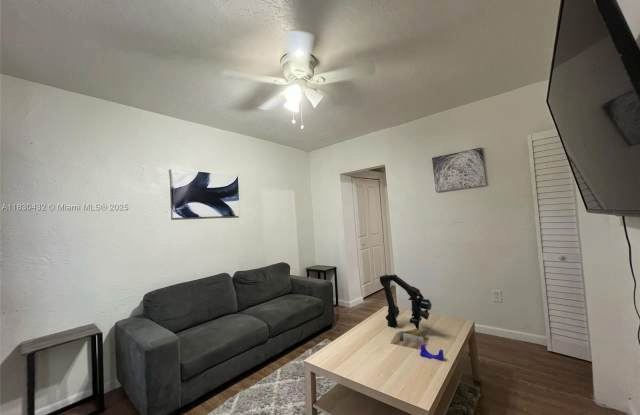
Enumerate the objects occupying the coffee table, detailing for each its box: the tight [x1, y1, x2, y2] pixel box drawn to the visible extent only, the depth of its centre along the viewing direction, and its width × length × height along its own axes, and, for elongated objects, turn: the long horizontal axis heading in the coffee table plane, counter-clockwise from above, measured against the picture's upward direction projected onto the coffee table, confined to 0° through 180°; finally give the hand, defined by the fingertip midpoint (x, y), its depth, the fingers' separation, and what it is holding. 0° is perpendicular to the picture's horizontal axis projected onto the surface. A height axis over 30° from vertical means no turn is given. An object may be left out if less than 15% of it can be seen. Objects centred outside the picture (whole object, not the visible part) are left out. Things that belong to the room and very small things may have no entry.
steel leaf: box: [398, 330, 424, 345], centre depth 170 cm, size 15×2×6 cm, turn 58°
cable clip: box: [419, 344, 445, 362], centre depth 152 cm, size 12×4×6 cm, turn 49°
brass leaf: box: [401, 328, 421, 336], centre depth 176 cm, size 13×1×5 cm, turn 98°
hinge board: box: [389, 331, 430, 351], centre depth 173 cm, size 22×18×1 cm
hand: (417, 328), depth 182 cm, fingers closed
